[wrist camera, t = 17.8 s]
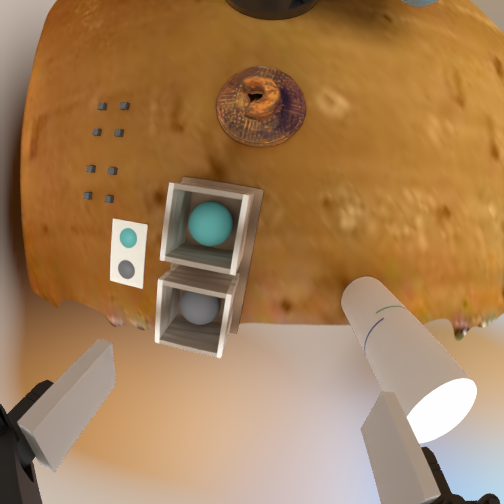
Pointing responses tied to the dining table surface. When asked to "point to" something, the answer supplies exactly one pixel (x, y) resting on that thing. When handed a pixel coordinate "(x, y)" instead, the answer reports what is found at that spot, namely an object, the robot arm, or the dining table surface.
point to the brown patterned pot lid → (261, 107)
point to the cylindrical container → (408, 360)
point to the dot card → (128, 252)
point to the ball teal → (210, 223)
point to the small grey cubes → (98, 133)
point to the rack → (205, 264)
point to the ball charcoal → (199, 307)
